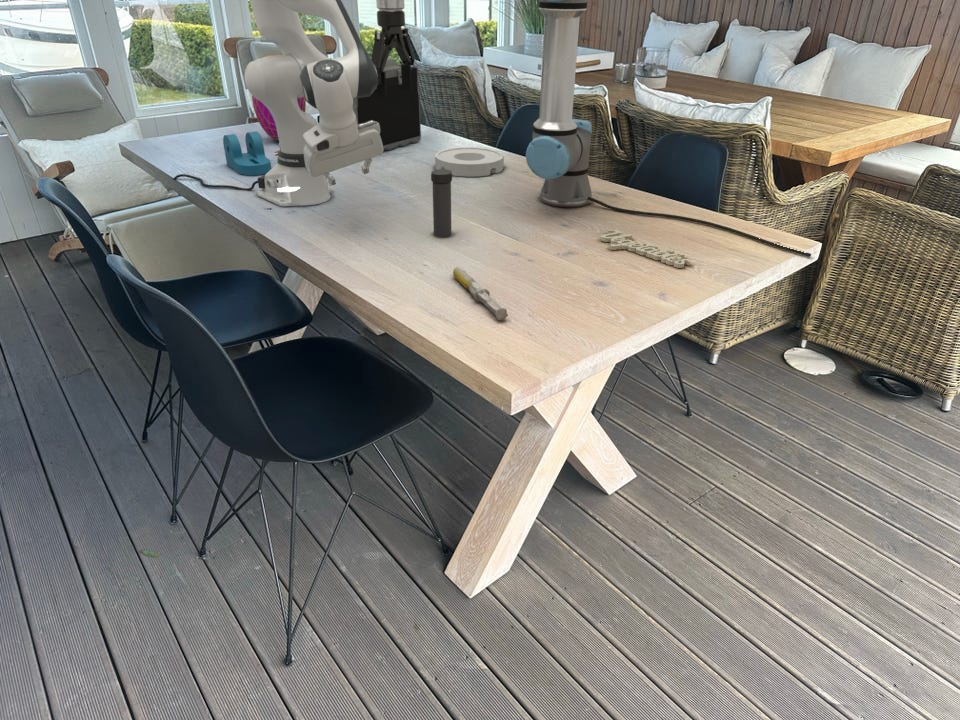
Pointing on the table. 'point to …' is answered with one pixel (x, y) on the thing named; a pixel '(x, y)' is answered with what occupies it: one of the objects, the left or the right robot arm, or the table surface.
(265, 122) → the decorative egg
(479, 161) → the ashtray
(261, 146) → the camera mount
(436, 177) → the lid
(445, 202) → the dark grey cylinder
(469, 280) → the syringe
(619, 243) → the decorative sign
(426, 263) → the table surface
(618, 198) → the table surface
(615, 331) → the table surface
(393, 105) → the cooler box
